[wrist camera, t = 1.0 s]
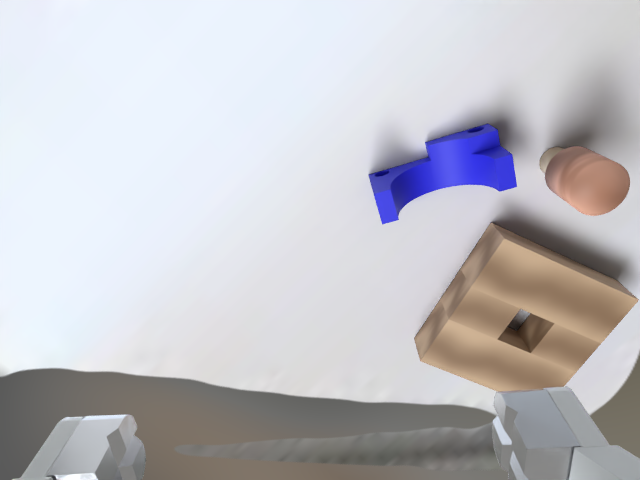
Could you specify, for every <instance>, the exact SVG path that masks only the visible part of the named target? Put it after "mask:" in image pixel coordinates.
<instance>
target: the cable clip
mask: <svg viewBox="0 0 640 480" xmlns="http://www.w3.org/2000/svg"><path fill="white" fill-rule="evenodd" d="M425 144H426V149H427V153H428V157H427V158H424V159H420V160H417V161H414V162H410V163H407V164H403V165H400V166H397V167H393V168H390V169H386V170H383V171H380V172H376V173H373V174H369V178H370V182H371V185H372V189H373V193H374V196H375V200H376V203H377V207H378V211H379V214H380V218H381V221H382V224H385V223H389V222H392V221H396V220H399V219H398V215H399V212H400V210H401V209H402V208H403V207H404V206H405V205H406V204H407V203H409V202H410V201H412V200H413V199H415V198H417V197H419V196H421V195H424V194H426V193H429V192H431V191H434V190H438V189H442V188H446V187H451V186H457V185H485V186H489V187H493V188H495V189H497V190H498V191H499V192H500V191H503V190H507V189H511V188H514V187H517V184H516V177H515V170H514V164H513V157H512V154H511V153H510V152H508V151H507V150H506V149H504V148H503V147H501V146H500V141H499V135H498V130H497V129H496V128H494V127H493V126H491V125H489V124H485V125H482V126H478V127H475V128H472V129H468V130H465V131H462V132H458V133H455V134H452V135H448V136H445V137H442V138H438V139H435V140H432V141H428V142H425Z"/></svg>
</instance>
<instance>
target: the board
mask: <svg viewBox="0 0 640 480" xmlns="http://www.w3.org/2000/svg"><path fill="white" fill-rule="evenodd" d="M637 302H638V299H637V298H636V297H635V296H634V295H633V294H632V293H631V292H629V291H628V290H627V289H626V288H625V287H624V286H623V285H622V284H620V283H619V282H618V281H617V280H615V279H613V278H611V277H608V276H606V275H604V274H602V273H600V272H598V271H595V270H593V269H591V268H589V267H587V266H585V265H582V264H580V263H578V262H576V261H574V260H572V259H569V258H567V257H565V256H563V255H561V254H558V253H556V252H554V251H552V250H550V249H548V248H545V247H543V246H541V245H539V244H537V243H535V242H532V241H530V240H528V239H526V238H524V237H522V236H519V235H517V234H515V233H513V232H511V231H508V230H506V229H504V228H502V227H500V226H498V225H495V224H493V223H490V225H489V226H488V228H487V229H486V231H485V232H484V234H483V235H482V237H481V238H480V240H479V241H478V243H477V244H476V246H475V247H474V249H473V250H472V252H471V253H470V255H469V256H468V258H467V260H466V261H465V263H464V264H463V266H462V267H461V269H460V270H459V272H458V273H457V275H456V276H455V278H454V279H453V281H452V282H451V284H450V285H449V287H448V288H447V290H446V291H445V293H444V294H443V296H442V297H441V299H440V300H439V302H438V303H437V305H436V306H435V308H434V309H433V311H432V312H431V314H430V315H429V317H428V318H427V320H426V321H425V323H424V324H423V326H422V328H421V329H420V331H419V332H418V334H417V335H416V337H415V338H414V340H415V343H416V347H417V351H418V354H419V358H420V361H422V362H424V363H427V364H429V365H432V366H434V367H437V368H439V369H442V370H445V371H447V372H450V373H452V374H455V375H457V376H460V377H462V378H465V379H467V380H470V381H473V382H475V383H478V384H480V385H483V386H485V387H488V388H490V389H493V390H495V391H498V392H500V391H514V390H528V389H543V388H552V387H564V386H565V385H566V383H567V382H568V381H569V380H570V379H571V378H572V376H573V375H574V374H575V373H576V372H577V371H578V370H579V368H580V367H581V366H582V365H583V364H584V363H585V361H586V360H587V359H588V358H589V357H590V356H591V355H592V353H593V352H594V351H595V350H596V349H597V348H598V346H599V345H600V344H601V343H602V342H603V341H604V340H605V338H606V337H607V336H608V335H609V334H610V333H611V332H612V330H613V329H614V328H615V327H616V326H617V325H618V323H619V322H620V321H621V320H622V319H623V318H624V317H625V315H626V314H627V313H628V312H629V311H630V310H631V308H632V307H633V306H634V305H635V304H636V303H637ZM520 309H522V310H525V311H527V312H529V313H531V314H530V315H529V316H528V318H527V319H526V320H525V322H524V323H523V324H522V325H521V327H520V328H519V329H518V331H515V330H513V329H511V328H508V327H507V326H508V325H509V323H510V322H511V321H512V319H513V318H514V317H515V315H516V314H517V313H518V311H519V310H520Z"/></svg>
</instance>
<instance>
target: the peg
mask: <svg viewBox="0 0 640 480" xmlns="http://www.w3.org/2000/svg"><path fill="white" fill-rule="evenodd" d="M540 169H541V170H542V172H543V173H545V180H546V184H547V186H548V187H549V189H550V190H551V191H553V192H554V193H555V194H557V195H558V196H559V197H561V198H562V199H563V200H565V201H566V202H567V203H569V204H570V205H571V206H573V207H574V208H575V209H577V210H578V211H579V212H581V213H583V214H586V215H591V216H596V215H602V214H605V213H608V212H610V211H612V210H613V209H615V208H616V207H617V206H618V205H619V204H621V202H622V201H623V200H624V199H625V197H626V195H627V193H628V191H629V187H630V178H629V174H628V172H627V170H626V169H625V168H624V167H623V166H622V165H620V164H618V163H616V162H614V161H612V160H610V159H608V158H606V157H604V156H602V155H600V154H597V153H595V152H593V151H591V150H589V149H587V148H585V147H580V146H573V147H569V148H566V149H564V148H561V147H553V148H550V149H548V150H547V151H546V152H545V153H544V154H543V155H542V157H541V159H540Z"/></svg>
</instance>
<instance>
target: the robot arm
mask: <svg viewBox="0 0 640 480" xmlns="http://www.w3.org/2000/svg"><path fill="white" fill-rule="evenodd" d="M494 408H495V410H496V412H497V415H498V416H497V417H496V418H495V419H494V420H493V422H492V437H493V445H494V449H495V453H496V456H497V459H498V462H499V464H500V467H502V468H503V469H504V470H505V471H507V472H508V473H509V475H508V476H509V477H508V480H640V459H639V458H637V457H636V456H634V455H632V454H631V453H629V452H628V451H626V450H624V449H623V448H621V447H619V446H618V445H611V446H610V445H609V443H608V442H607V440H606V439H605V438H604V436H603V435H602V433H601V432H600V430H599V429H598V427H597V426H596V425H595V423H594V422H593V420H592V419H591V417H590V416H589V414H588V413H587V411H586V410H585V408H584V407H583V405H582V404H581V403H580V401H579V400H578V398H577V397H576V395H575V394H574V392H573V391H572V389H570V388H569V387H567V386H566V387H552V388H543V389H528V390H514V391H500V392H496V394H495V397H494ZM136 429H137V425H136V422H135V419H134V417H133V416H131V415H105V416H86V417H66V418H64V419H62V420H61V421H59V422H58V424H57V425H56V427H55V428H54V430H53V431H52V433H51V434H50V436H49V437H48V439H47V440H46V442H45V443H44V444H43V446H42V448H41V449H40V450H39V452H38V453H37V455H36V456H35V458H34V459H33V460H32V462H31V463H30V465H29V466H28V468H27V469H26V471H25V472H24V474H23V475H22V477H21V478H16V479H12V480H142V477H143V475H144V468H145V462H146V458H145V449H144V446H143V442H142V441H141V440H139V439H138V438H137V437H136V436H134V433H135V431H136Z"/></svg>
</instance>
